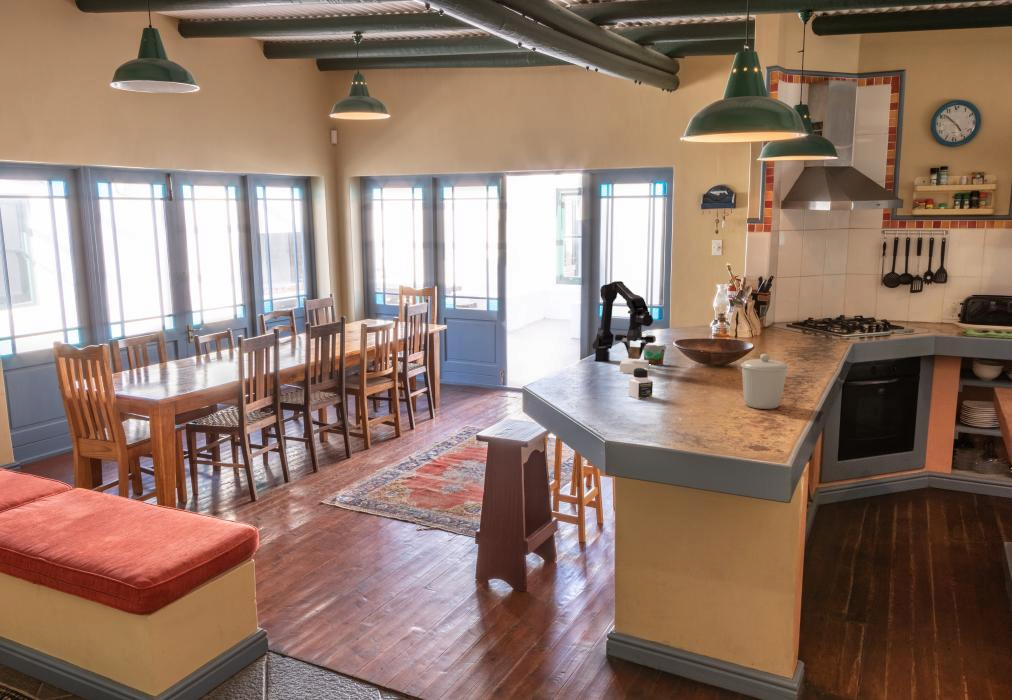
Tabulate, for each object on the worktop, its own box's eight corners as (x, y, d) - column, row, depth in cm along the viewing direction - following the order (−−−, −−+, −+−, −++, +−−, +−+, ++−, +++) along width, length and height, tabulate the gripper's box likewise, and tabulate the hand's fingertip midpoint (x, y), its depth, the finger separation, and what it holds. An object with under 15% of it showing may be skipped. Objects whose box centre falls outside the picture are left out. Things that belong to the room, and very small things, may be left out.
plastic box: (619, 373, 378) (620, 363, 378) (623, 369, 390) (623, 359, 389) (645, 375, 375) (645, 364, 374) (648, 370, 386) (648, 360, 385)
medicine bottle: (638, 399, 325) (639, 370, 323) (628, 396, 331) (628, 367, 329) (652, 397, 328) (653, 369, 326) (641, 394, 334) (642, 366, 332)
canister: (779, 414, 302) (783, 359, 298) (732, 408, 311) (735, 355, 308) (790, 404, 317) (794, 352, 313) (745, 399, 326) (748, 348, 323)
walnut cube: (628, 358, 380) (628, 348, 379) (630, 356, 384) (631, 346, 384) (638, 359, 378) (638, 348, 377) (640, 357, 383) (641, 347, 382)
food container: (638, 364, 400) (638, 344, 398) (642, 362, 405) (642, 342, 404) (662, 366, 394) (662, 346, 393) (665, 364, 400) (666, 344, 398)
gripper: (612, 324, 375) (611, 357, 377) (651, 327, 368) (650, 360, 370) (618, 321, 385) (617, 353, 387) (656, 323, 378) (655, 356, 380)
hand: (634, 355), depth 381 cm, fingers closed on walnut cube, 5 cm apart
